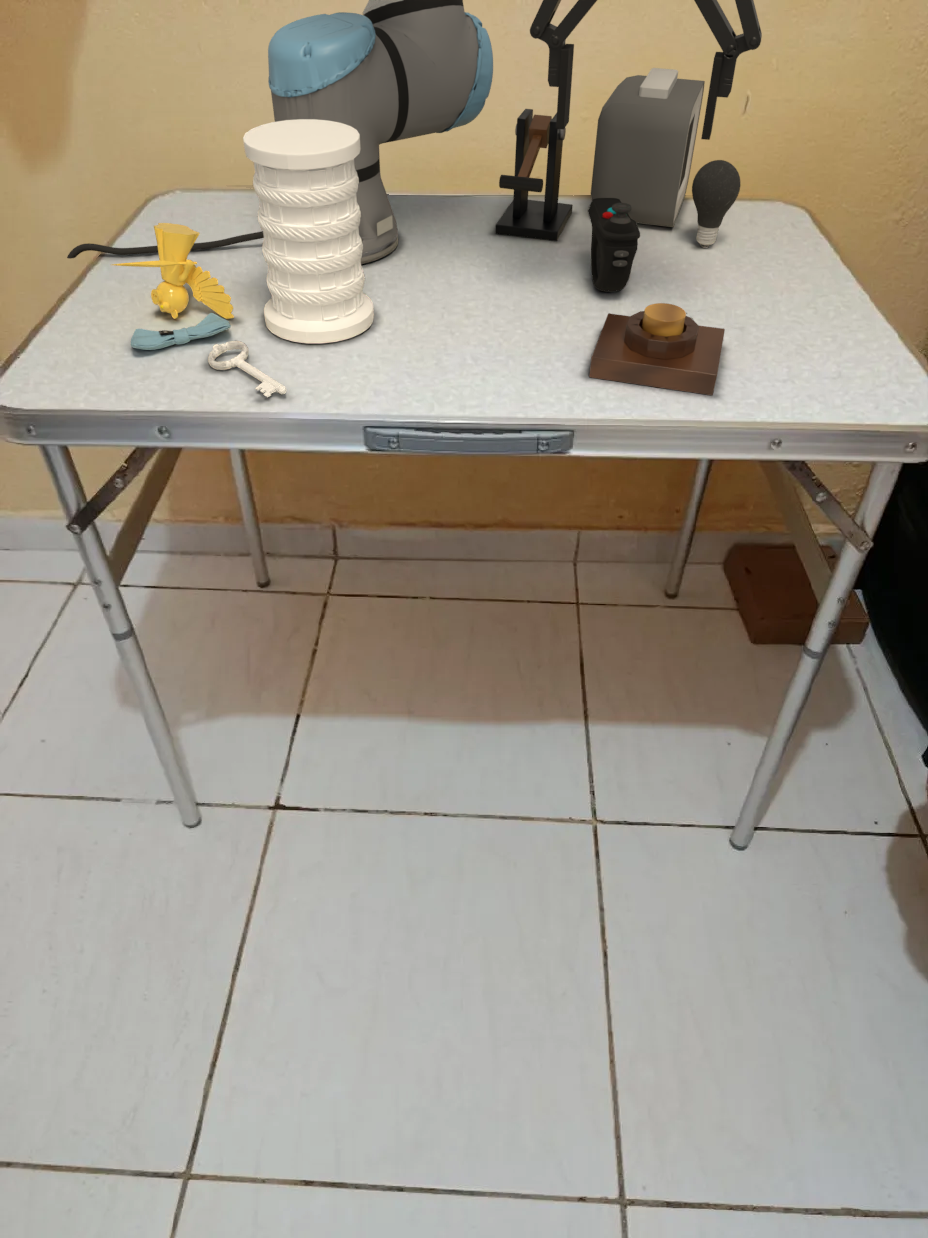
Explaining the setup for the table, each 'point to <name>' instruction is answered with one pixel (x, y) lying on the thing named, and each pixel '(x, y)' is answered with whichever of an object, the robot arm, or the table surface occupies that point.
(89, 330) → the table surface
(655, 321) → the power button
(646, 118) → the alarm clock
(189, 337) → the bow tie
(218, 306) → the figurine
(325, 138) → the decorative container
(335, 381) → the table surface
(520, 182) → the lever
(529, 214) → the switch bracket
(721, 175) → the light bulb
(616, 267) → the controller
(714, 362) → the switch block
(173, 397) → the table surface
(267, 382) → the key
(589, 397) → the table surface
